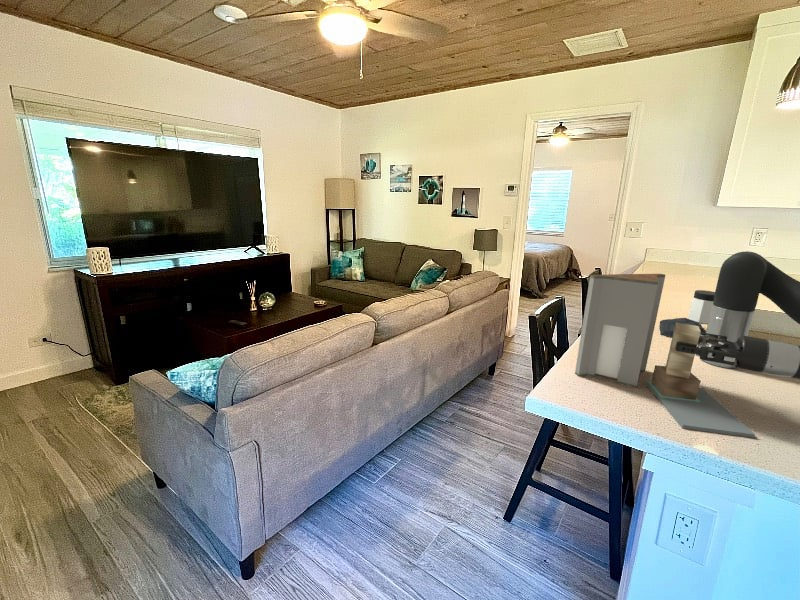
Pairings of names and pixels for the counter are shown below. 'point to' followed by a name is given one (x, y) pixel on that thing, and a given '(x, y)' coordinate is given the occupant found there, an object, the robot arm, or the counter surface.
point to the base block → (675, 384)
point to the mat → (702, 414)
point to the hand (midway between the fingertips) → (674, 340)
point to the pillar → (682, 361)
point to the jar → (701, 306)
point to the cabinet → (618, 326)
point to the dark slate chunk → (669, 325)
